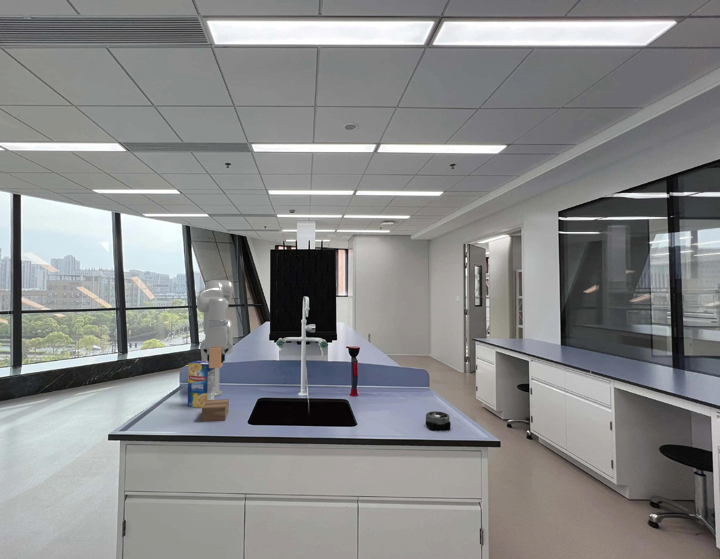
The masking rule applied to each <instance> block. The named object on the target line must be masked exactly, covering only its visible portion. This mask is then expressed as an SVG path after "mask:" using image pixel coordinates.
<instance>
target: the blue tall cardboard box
mask: <svg viewBox="0 0 720 559" xmlns="http://www.w3.org/2000/svg"><path fill="white" fill-rule="evenodd" d="M187 368H188V369H187V370H188V372H187V373H188V374H187V407H189V408H201V409H202V408H203V406H204V405H205V403H206V401H207V400H215V397H216V396H215V368H209V361H202V360H193V361H192V362H188V367H187Z"/></svg>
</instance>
